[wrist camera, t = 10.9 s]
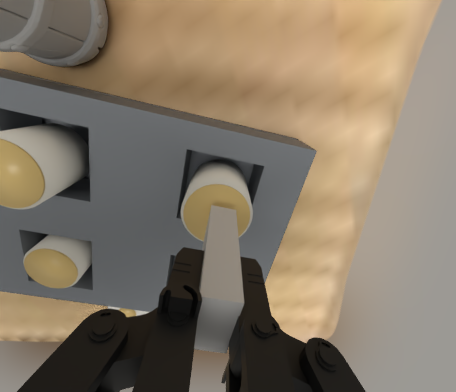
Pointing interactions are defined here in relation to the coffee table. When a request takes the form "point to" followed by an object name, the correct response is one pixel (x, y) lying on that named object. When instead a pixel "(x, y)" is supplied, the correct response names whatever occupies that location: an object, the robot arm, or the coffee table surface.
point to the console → (138, 189)
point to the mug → (54, 29)
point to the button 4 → (216, 196)
